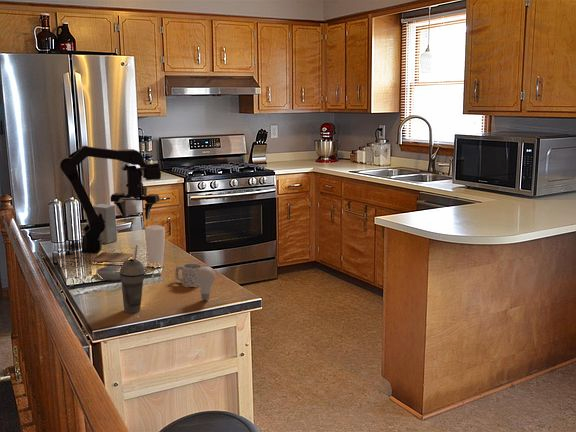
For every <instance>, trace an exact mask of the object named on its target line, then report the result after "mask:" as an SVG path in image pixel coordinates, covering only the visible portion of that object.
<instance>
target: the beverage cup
mask: <svg viewBox="0 0 576 432" xmlns="http://www.w3.org/2000/svg"><path fill="white" fill-rule="evenodd" d="M138 247H139V246H138V244H135V250H134V255H133V258H132V259H130V260H127V261H126V262H124V263H123V265H122V266H121V269H120V278H121V280H120V281H121V291H122V299H123V300H122V302H123V310H124V312H125V313H127V314H137V313H139V312H140V311H141V305H142V298H143V289H144V288H143V287H144V286H143V285H144V280H145V275H146V271H145V267H144V265H143V263H142V262H141V261H140V260H138V259H137V255H138V253H137V252H138Z"/></svg>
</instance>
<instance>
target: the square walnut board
mask: <svg viewBox="0 0 576 432" xmlns="http://www.w3.org/2000/svg"><path fill="white" fill-rule="evenodd" d="M132 256H133V257H134V253H125V252H124V253H123V252H106V251H105V252H104V251H101V252H100V253H98V255H97V256H96V257H94V258H93V259H92V262H94V263H95V262H97V263H103V262H126V261H127V260H128V259H129V258H130V257H132Z"/></svg>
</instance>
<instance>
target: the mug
mask: <svg viewBox="0 0 576 432" xmlns="http://www.w3.org/2000/svg"><path fill="white" fill-rule="evenodd" d="M202 267H203V265H201V264H199V263H185V264H183V265H177V266H176V267H175V271H174V272H175V273H174V275H175V279H176V280H178V281H180V282H181V286H182V285H183V286H182V287H184V286H186V287H185V288H187V287H195V286H199V284H198V282H197V279H196V273H197V271H198V270H199V269H200V268H202ZM179 271H181V277H180V276H179Z"/></svg>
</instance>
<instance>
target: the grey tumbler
mask: <svg viewBox="0 0 576 432" xmlns="http://www.w3.org/2000/svg"><path fill="white" fill-rule="evenodd" d="M165 230H166V228H165V225H164V226H163V225H158V224H157V225H155V224H154V225H148V226H146V227H145V238H146V239H145V240H146V241H145V242H146V251H147V262H150V263H159V264H160V265H162V267H164V266H163V265H164V254H165V242H166V241H165V239H166V231H165Z"/></svg>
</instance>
